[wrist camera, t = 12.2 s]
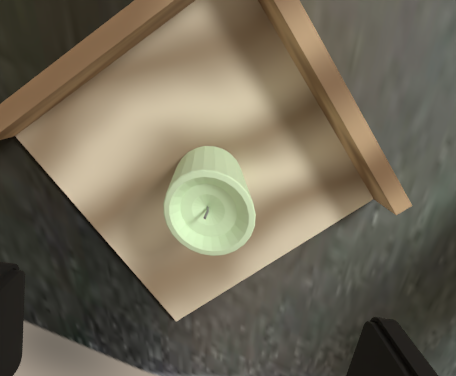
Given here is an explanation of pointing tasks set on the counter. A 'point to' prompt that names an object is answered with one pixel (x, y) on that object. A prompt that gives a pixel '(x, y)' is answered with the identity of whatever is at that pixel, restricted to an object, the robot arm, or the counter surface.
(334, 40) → the counter surface
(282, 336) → the counter surface
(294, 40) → the wooden tray
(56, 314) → the counter surface
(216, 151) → the candle
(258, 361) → the counter surface
